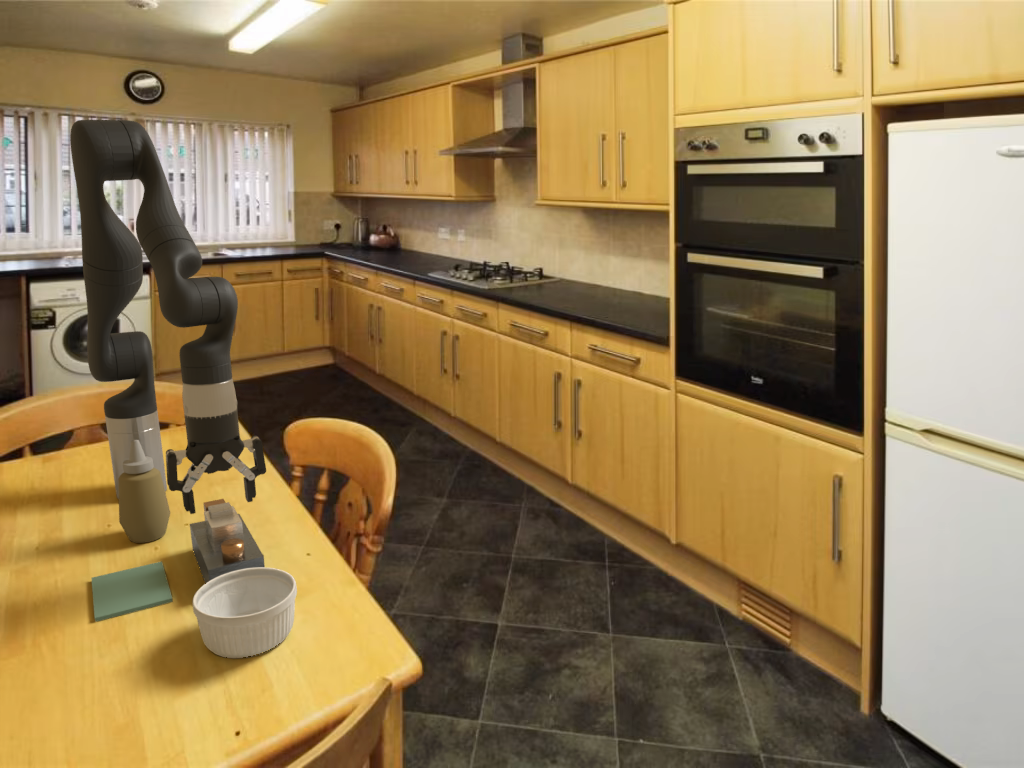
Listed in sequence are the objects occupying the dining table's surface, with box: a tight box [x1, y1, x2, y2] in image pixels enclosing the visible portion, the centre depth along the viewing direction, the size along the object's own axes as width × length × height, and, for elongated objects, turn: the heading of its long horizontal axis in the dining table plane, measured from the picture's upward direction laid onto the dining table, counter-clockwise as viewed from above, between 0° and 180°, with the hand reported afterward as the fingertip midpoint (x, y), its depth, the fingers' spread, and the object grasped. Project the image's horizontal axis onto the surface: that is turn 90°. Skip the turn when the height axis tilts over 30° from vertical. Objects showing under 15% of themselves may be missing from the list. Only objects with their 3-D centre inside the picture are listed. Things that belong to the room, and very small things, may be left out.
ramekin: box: [192, 566, 298, 659], centre depth 95 cm, size 13×13×7 cm
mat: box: [91, 560, 174, 623], centre depth 107 cm, size 13×10×1 cm
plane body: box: [189, 498, 266, 584], centre depth 113 cm, size 18×8×9 cm, turn 32°
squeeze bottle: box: [118, 440, 171, 544], centre depth 122 cm, size 8×8×18 cm
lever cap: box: [203, 502, 244, 552], centre depth 112 cm, size 7×4×5 cm, turn 32°
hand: (221, 506), depth 111 cm, fingers open, 8 cm apart
